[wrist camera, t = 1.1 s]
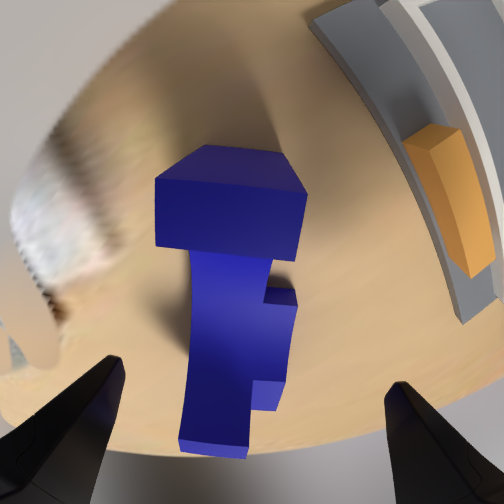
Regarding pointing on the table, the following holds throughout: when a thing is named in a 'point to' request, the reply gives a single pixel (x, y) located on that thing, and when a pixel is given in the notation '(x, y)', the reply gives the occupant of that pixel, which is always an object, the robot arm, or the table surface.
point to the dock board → (437, 121)
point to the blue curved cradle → (232, 285)
